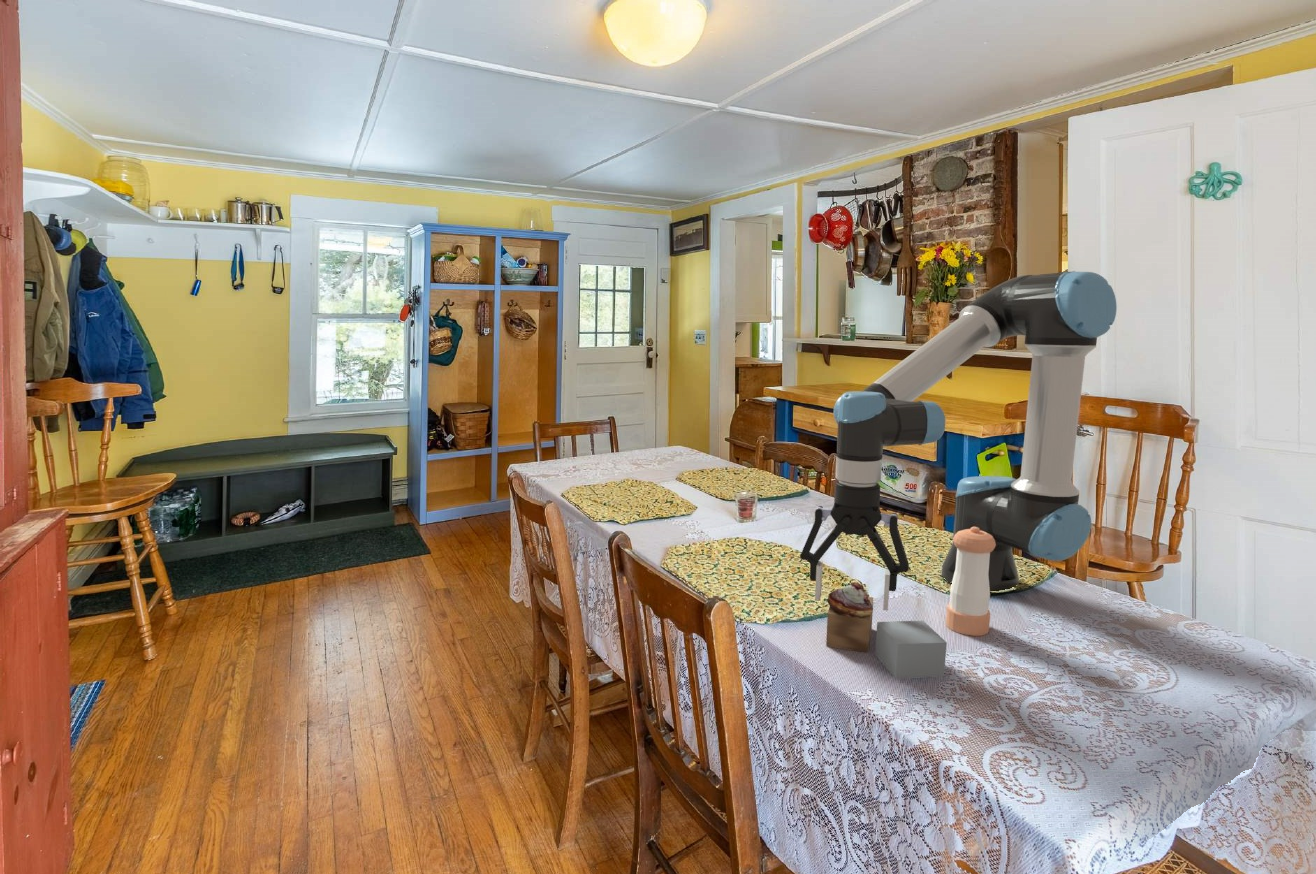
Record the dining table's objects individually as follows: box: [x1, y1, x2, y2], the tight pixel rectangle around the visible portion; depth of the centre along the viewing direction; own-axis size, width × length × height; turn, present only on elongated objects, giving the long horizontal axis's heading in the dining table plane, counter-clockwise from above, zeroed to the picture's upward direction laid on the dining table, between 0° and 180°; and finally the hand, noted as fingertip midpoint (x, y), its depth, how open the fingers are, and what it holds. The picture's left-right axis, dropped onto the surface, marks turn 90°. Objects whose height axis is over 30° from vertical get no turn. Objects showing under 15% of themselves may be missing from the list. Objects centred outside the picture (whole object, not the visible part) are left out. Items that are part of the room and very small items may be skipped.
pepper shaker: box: [945, 527, 996, 637], centre depth 124 cm, size 7×7×19 cm
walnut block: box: [825, 596, 874, 654], centre depth 121 cm, size 7×10×6 cm
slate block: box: [874, 620, 948, 680], centre depth 111 cm, size 8×8×6 cm
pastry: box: [827, 581, 874, 618], centre depth 119 cm, size 8×8×5 cm
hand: (851, 602), depth 121 cm, fingers open, 11 cm apart
